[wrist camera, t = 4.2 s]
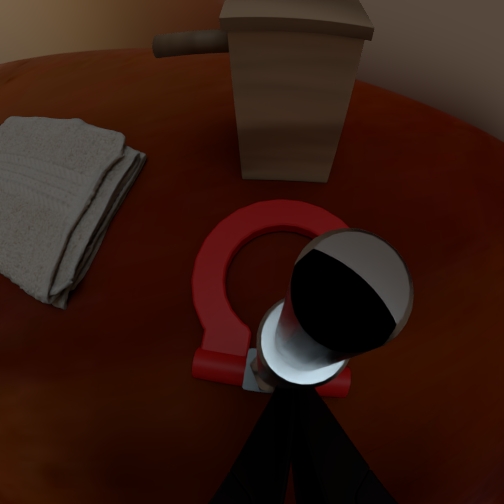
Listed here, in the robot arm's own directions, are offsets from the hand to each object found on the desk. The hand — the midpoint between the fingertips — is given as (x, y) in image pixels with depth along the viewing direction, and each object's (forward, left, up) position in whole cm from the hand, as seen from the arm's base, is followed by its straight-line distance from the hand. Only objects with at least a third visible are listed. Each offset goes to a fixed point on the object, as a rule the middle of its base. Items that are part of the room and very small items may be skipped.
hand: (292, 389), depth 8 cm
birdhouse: (+11, +8, -7) cm, 15 cm away
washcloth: (0, +21, -7) cm, 23 cm away
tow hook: (+4, +2, -7) cm, 8 cm away
